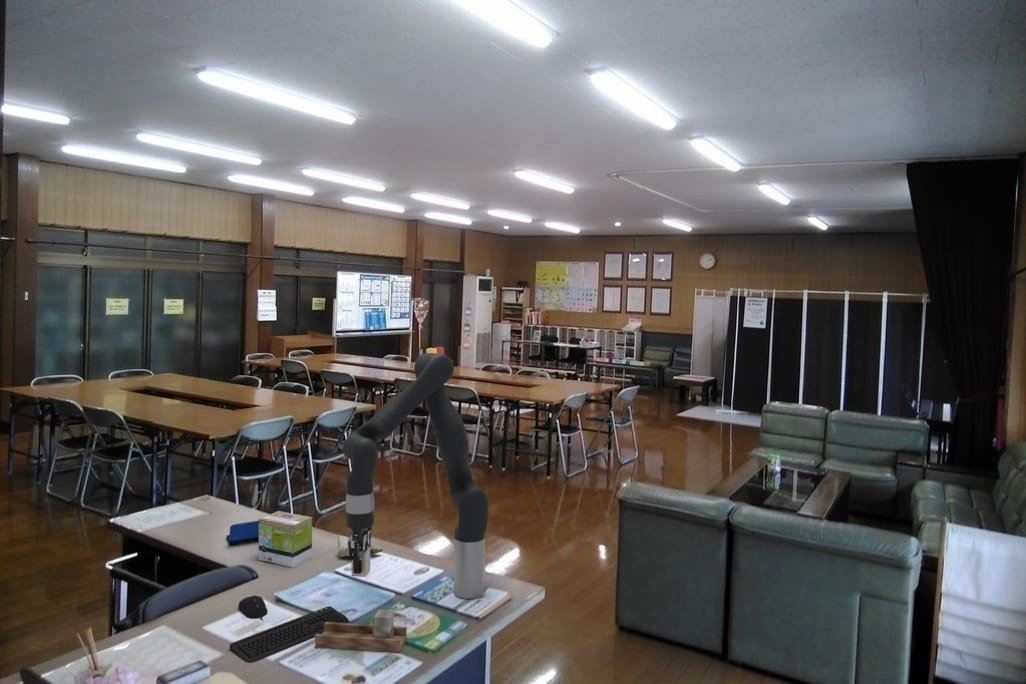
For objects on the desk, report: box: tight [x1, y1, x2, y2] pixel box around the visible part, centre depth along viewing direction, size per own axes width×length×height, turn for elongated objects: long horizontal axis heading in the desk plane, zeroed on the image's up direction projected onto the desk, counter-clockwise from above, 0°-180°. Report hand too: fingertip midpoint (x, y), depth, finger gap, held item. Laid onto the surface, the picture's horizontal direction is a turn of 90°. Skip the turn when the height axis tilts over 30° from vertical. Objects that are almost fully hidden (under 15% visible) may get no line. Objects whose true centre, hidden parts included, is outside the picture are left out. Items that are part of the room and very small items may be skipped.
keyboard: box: [229, 605, 350, 664], centre depth 178 cm, size 30×11×2 cm, turn 139°
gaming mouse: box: [238, 595, 268, 622], centre depth 191 cm, size 6×15×4 cm, turn 39°
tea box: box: [258, 510, 313, 569], centre depth 229 cm, size 15×10×15 cm
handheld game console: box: [226, 520, 259, 547], centre depth 247 cm, size 16×13×9 cm
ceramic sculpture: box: [337, 534, 384, 558], centre depth 232 cm, size 11×9×15 cm
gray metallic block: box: [350, 546, 371, 578], centre depth 185 cm, size 4×5×7 cm
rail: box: [314, 609, 408, 653], centre depth 175 cm, size 22×8×8 cm, turn 85°
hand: (360, 569), depth 185 cm, fingers closed on gray metallic block, 4 cm apart
